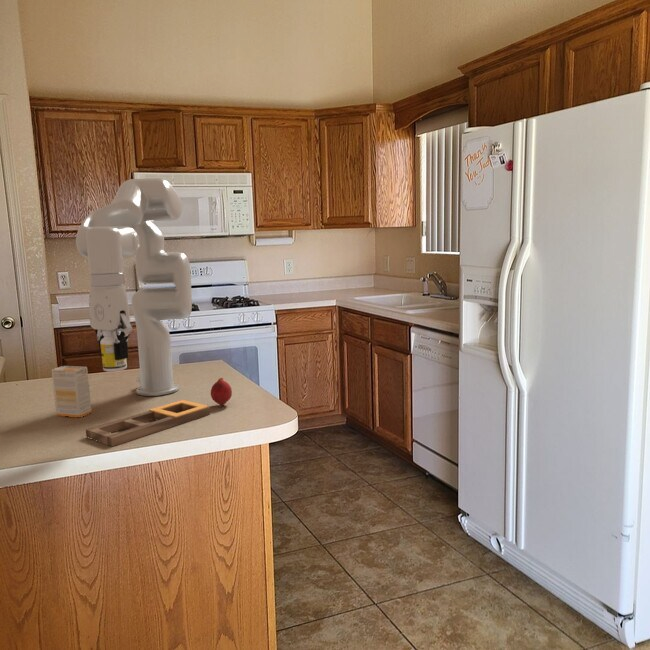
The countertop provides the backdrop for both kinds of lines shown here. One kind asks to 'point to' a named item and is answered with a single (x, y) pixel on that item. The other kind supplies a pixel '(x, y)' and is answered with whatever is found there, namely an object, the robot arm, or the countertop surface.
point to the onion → (221, 392)
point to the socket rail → (138, 428)
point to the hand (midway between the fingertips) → (114, 356)
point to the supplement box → (71, 391)
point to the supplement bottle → (110, 353)
